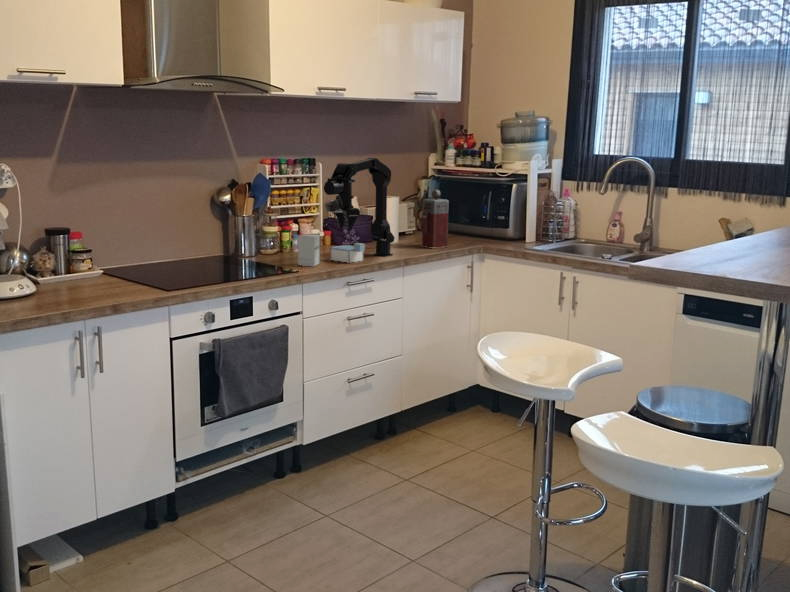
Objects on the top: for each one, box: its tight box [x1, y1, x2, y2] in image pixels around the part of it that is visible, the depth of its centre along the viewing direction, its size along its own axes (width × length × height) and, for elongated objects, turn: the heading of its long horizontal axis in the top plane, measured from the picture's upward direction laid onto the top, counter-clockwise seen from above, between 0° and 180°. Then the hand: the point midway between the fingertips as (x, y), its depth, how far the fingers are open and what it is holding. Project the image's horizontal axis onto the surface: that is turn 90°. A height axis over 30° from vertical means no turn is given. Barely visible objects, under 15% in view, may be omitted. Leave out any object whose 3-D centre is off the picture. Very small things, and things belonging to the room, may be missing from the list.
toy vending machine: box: [420, 189, 450, 247], centre depth 387 cm, size 9×11×28 cm
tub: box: [330, 248, 364, 264], centre depth 347 cm, size 11×9×5 cm
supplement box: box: [297, 233, 320, 267], centre depth 334 cm, size 7×7×13 cm
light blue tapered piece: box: [330, 242, 366, 253], centre depth 345 cm, size 14×9×4 cm, turn 50°
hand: (345, 230), depth 340 cm, fingers open, 9 cm apart
